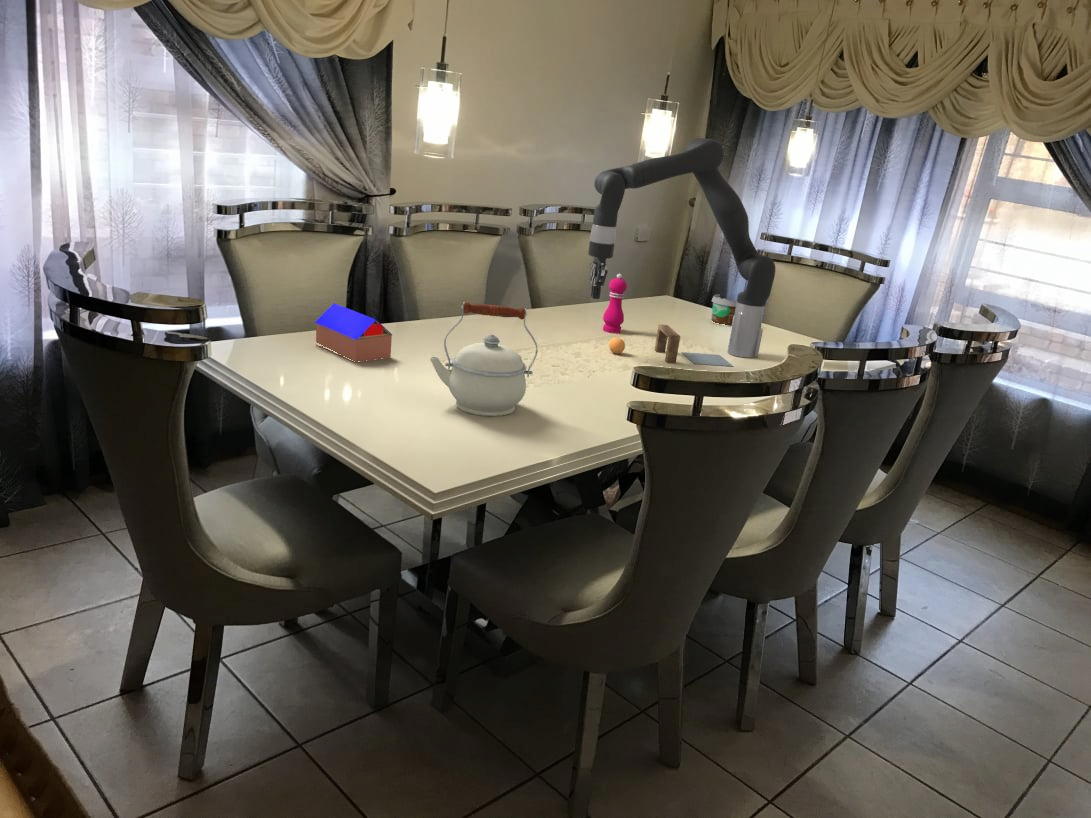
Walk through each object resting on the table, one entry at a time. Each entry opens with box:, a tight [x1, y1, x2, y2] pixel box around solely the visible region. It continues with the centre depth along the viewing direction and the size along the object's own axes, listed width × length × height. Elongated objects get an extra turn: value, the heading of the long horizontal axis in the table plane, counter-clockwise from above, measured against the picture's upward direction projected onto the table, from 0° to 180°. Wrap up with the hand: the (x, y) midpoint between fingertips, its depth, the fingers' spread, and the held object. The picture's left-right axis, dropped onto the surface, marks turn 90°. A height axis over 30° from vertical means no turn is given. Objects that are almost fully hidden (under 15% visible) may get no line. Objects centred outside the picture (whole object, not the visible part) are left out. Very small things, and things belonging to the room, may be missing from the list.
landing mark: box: [681, 351, 734, 368], centre depth 272 cm, size 13×13×1 cm
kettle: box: [429, 301, 538, 417], centre depth 200 cm, size 25×18×25 cm
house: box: [314, 303, 393, 363], centre depth 235 cm, size 12×20×12 cm, turn 46°
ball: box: [608, 337, 626, 355], centre depth 266 cm, size 5×5×5 cm
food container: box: [711, 294, 737, 326], centre depth 326 cm, size 12×6×10 cm, turn 25°
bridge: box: [654, 323, 681, 364], centre depth 268 cm, size 3×14×9 cm, turn 9°
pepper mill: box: [602, 273, 628, 334], centre depth 292 cm, size 7×7×20 cm
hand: (594, 297), depth 259 cm, fingers closed
